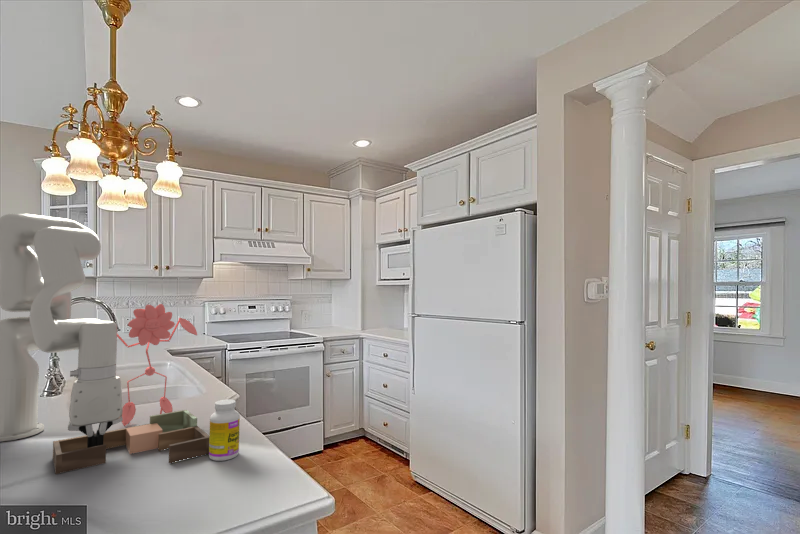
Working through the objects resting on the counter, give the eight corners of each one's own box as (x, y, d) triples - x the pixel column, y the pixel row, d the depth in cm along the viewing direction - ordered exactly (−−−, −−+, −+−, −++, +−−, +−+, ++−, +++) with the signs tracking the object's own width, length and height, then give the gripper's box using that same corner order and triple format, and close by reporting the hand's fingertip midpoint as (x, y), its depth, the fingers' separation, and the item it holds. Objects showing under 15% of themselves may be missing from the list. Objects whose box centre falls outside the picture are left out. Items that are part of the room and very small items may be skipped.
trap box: (52, 458, 102) (53, 432, 103) (185, 431, 121) (186, 409, 122) (58, 491, 87) (59, 460, 87) (210, 453, 106) (211, 428, 106)
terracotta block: (125, 446, 111) (125, 428, 111) (156, 440, 115) (156, 422, 115) (129, 454, 105) (130, 435, 106) (162, 448, 110) (162, 429, 110)
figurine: (91, 426, 125) (96, 304, 126) (187, 409, 143) (191, 301, 144) (101, 441, 114) (106, 307, 115) (204, 421, 132) (207, 304, 132)
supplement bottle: (228, 463, 100) (229, 406, 101) (202, 460, 102) (203, 404, 102) (244, 452, 107) (245, 399, 107) (220, 449, 108) (221, 397, 109)
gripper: (58, 380, 96) (55, 465, 96) (136, 371, 106) (134, 448, 105) (56, 374, 102) (54, 454, 101) (130, 366, 112) (129, 439, 111)
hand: (95, 451), depth 103 cm, fingers closed
